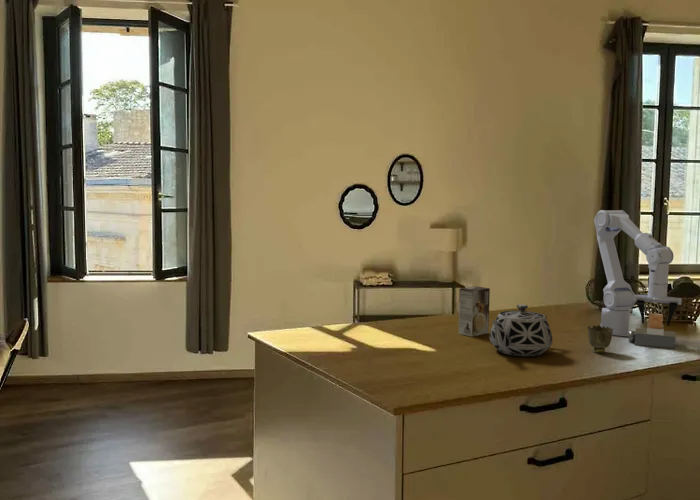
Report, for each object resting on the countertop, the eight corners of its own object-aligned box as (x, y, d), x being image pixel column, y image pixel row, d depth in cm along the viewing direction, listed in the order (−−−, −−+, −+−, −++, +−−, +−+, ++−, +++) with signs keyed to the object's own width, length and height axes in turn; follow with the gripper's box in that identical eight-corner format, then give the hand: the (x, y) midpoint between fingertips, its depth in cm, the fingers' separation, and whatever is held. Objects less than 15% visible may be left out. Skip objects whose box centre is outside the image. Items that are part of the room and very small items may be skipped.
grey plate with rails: (628, 344, 234) (629, 326, 234) (628, 339, 242) (629, 321, 242) (674, 349, 229) (675, 330, 228) (673, 343, 237) (674, 325, 236)
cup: (599, 356, 218) (600, 330, 217) (581, 350, 224) (582, 326, 223) (616, 353, 221) (618, 328, 220) (598, 348, 228) (599, 324, 227)
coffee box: (474, 330, 252) (476, 285, 250) (488, 333, 247) (490, 288, 245) (457, 333, 246) (459, 288, 244) (472, 337, 241) (473, 290, 239)
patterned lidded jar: (464, 354, 217) (466, 306, 215) (518, 339, 238) (520, 296, 237) (518, 367, 203) (520, 316, 202) (570, 350, 225) (572, 303, 223)
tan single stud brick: (648, 334, 232) (649, 316, 231) (648, 330, 237) (649, 313, 236) (661, 335, 230) (662, 317, 230) (661, 332, 235) (662, 314, 235)
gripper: (634, 283, 232) (631, 324, 234) (682, 286, 227) (680, 328, 228) (634, 280, 239) (632, 320, 240) (682, 284, 233) (679, 324, 234)
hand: (655, 324), depth 234 cm, fingers open, 7 cm apart
